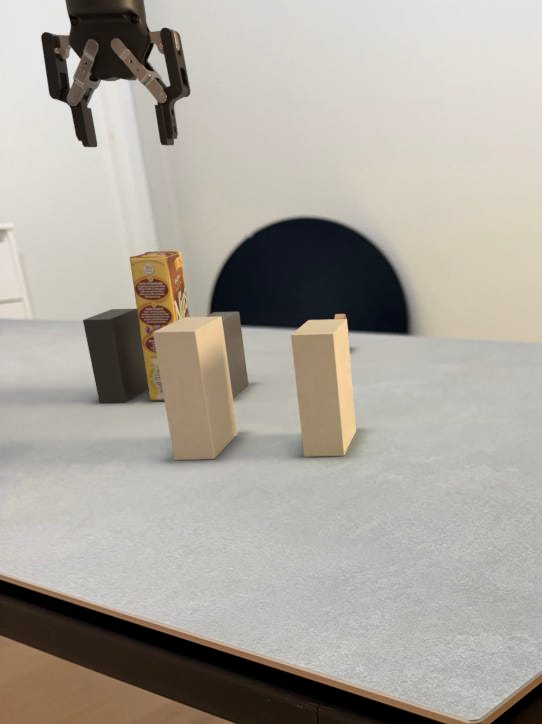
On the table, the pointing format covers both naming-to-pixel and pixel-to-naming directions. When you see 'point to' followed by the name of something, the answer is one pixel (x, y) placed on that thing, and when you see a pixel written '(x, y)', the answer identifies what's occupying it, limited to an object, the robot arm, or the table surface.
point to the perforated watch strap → (341, 316)
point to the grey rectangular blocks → (126, 358)
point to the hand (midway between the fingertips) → (129, 146)
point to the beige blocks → (214, 394)
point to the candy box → (157, 304)
